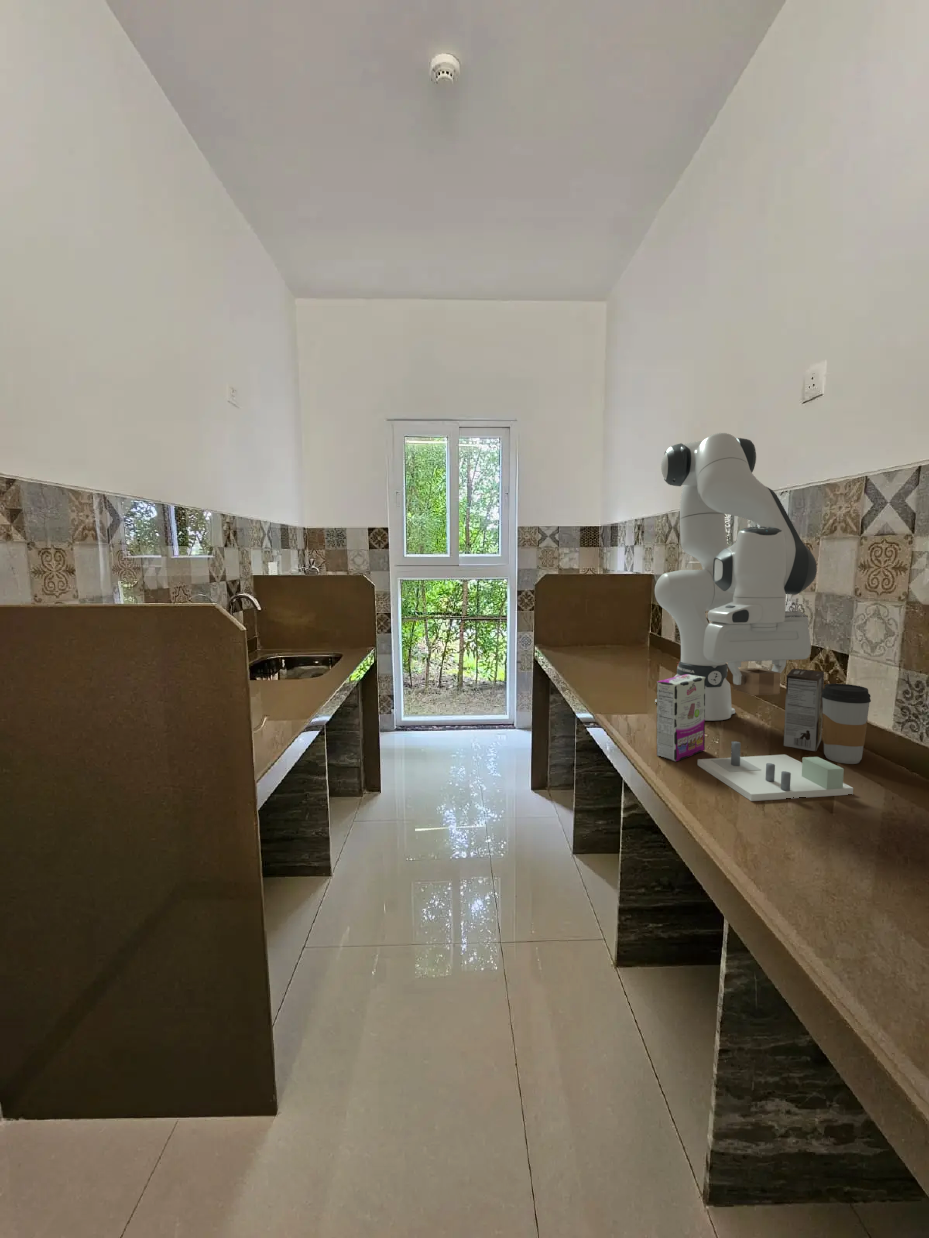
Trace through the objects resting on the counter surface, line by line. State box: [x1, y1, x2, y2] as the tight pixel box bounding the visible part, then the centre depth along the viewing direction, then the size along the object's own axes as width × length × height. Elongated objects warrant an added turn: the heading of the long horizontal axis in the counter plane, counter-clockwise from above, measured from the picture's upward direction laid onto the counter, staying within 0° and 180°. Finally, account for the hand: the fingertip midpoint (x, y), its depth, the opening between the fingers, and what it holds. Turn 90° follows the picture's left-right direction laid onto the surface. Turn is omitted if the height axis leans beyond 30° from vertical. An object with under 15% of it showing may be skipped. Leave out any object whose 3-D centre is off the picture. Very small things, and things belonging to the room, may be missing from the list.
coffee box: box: [783, 668, 825, 752], centre depth 120 cm, size 9×6×16 cm
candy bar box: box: [656, 674, 706, 762], centre depth 115 cm, size 11×5×16 cm, turn 126°
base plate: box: [697, 740, 854, 802], centre depth 101 cm, size 17×19×6 cm
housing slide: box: [801, 756, 845, 789], centre depth 96 cm, size 6×3×4 cm, turn 6°
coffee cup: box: [821, 683, 872, 765], centre depth 110 cm, size 8×8×15 cm
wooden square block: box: [733, 667, 781, 696], centre depth 104 cm, size 6×6×4 cm
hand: (756, 683), depth 104 cm, fingers closed on wooden square block, 6 cm apart
